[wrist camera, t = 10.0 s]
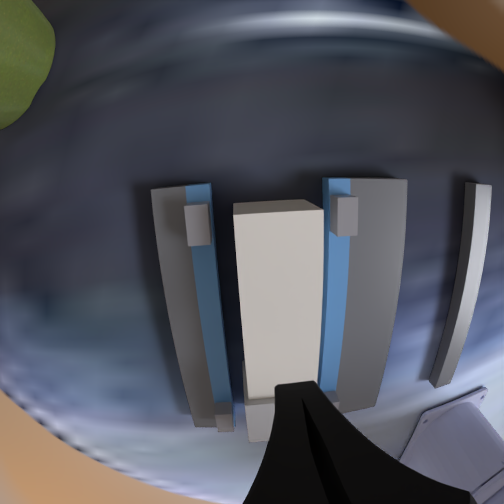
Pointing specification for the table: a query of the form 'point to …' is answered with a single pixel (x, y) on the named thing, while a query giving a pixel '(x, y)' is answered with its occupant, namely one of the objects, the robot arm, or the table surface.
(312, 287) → the tall beige pillar
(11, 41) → the plant pot
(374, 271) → the board
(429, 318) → the table surface
